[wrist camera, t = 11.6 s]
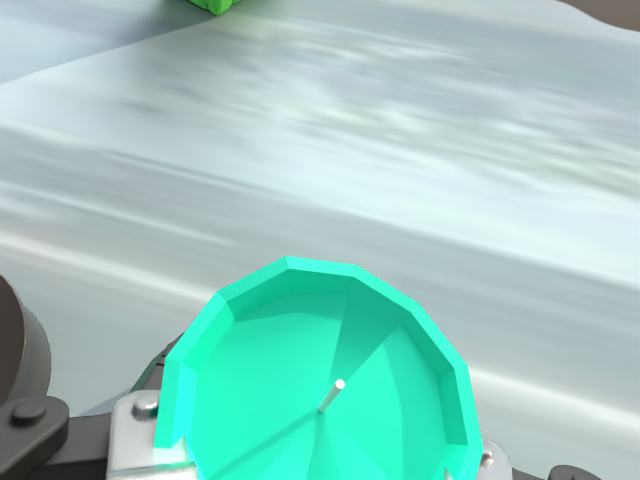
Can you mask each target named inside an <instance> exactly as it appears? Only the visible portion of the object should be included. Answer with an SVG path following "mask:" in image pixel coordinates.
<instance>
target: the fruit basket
mask: <svg viewBox="0 0 640 480" xmlns="http://www.w3.org/2000/svg"><path fill="white" fill-rule="evenodd" d="M188 1H190V2H192V3H194V4H196V5H197V6H199V7H201V8H204V9H209V11H210V12H211V13H212V14H214V15H216V16H219V15H221V14H222V13H224V12H225V11H226V10H228V9H229V8H230V6H231V4H235V3H237V2H239V1H240V0H188Z"/></svg>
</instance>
